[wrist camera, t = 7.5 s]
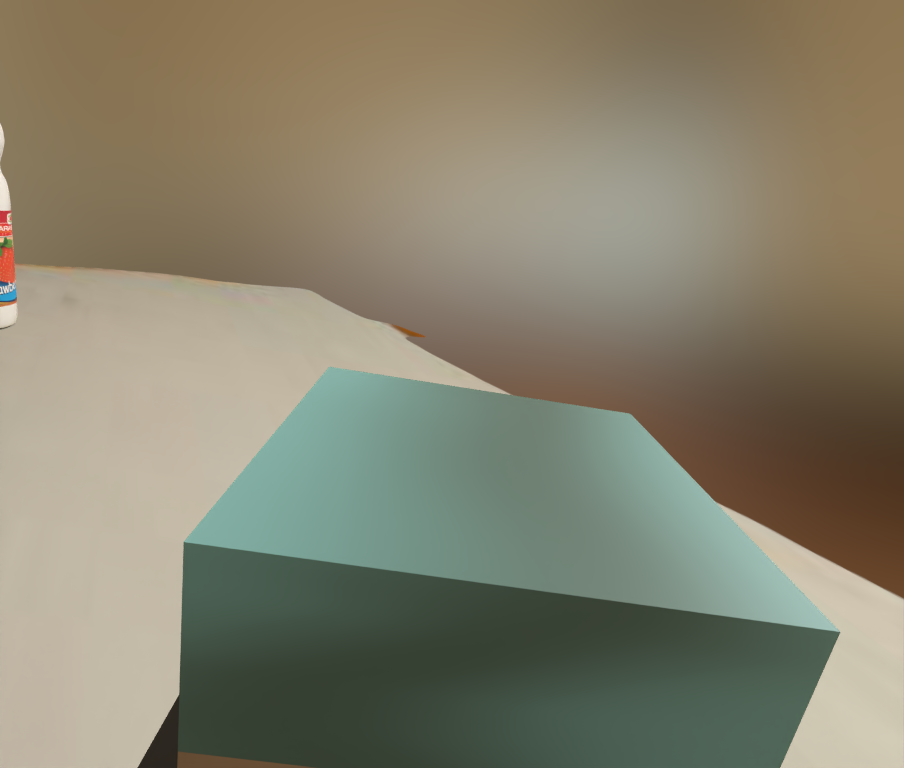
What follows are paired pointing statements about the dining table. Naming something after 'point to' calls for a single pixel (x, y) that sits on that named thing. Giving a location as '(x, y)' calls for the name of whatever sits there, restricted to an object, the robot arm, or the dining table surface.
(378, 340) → the dining table surface
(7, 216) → the white strawberry milk bottle
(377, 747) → the brown tall block
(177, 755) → the robot arm
